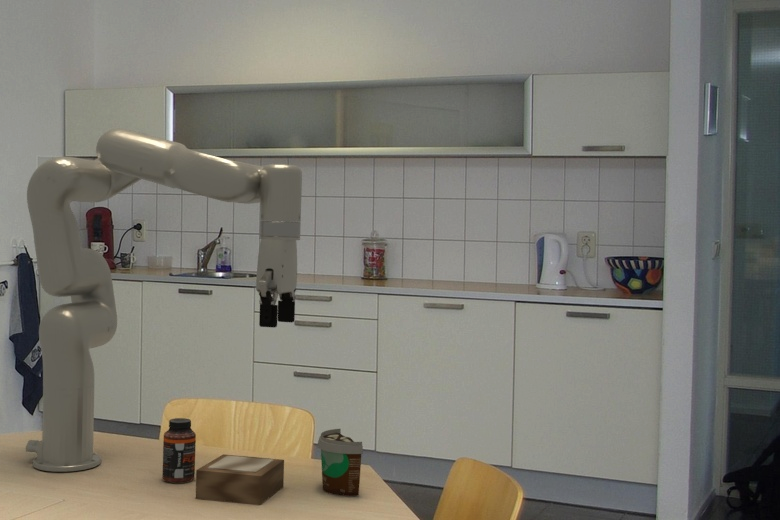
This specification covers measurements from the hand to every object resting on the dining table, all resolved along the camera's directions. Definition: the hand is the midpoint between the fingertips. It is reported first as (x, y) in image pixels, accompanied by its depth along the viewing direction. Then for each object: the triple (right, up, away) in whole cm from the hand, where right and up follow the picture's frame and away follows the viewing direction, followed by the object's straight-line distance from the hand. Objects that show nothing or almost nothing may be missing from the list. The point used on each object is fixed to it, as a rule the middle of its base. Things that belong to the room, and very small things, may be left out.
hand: (277, 324), depth 173 cm
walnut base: (-6, -30, -5) cm, 31 cm away
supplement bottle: (-19, -30, +2) cm, 35 cm away
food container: (+10, -31, -1) cm, 32 cm away
